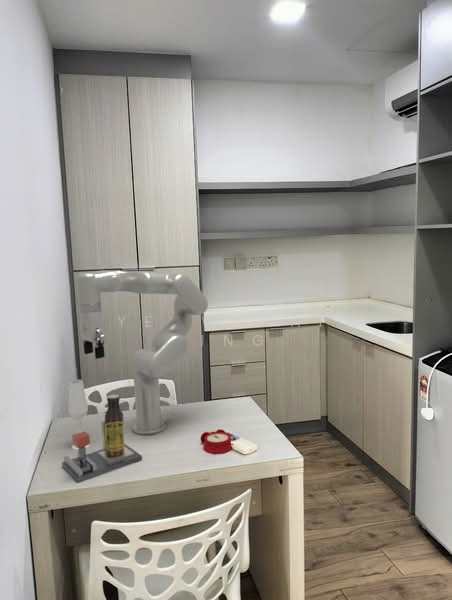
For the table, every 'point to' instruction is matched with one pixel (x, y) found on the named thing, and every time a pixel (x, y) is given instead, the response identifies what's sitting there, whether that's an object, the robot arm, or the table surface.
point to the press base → (100, 461)
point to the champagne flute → (77, 403)
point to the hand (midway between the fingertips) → (94, 355)
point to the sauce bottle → (114, 427)
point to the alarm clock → (216, 442)
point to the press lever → (82, 449)
